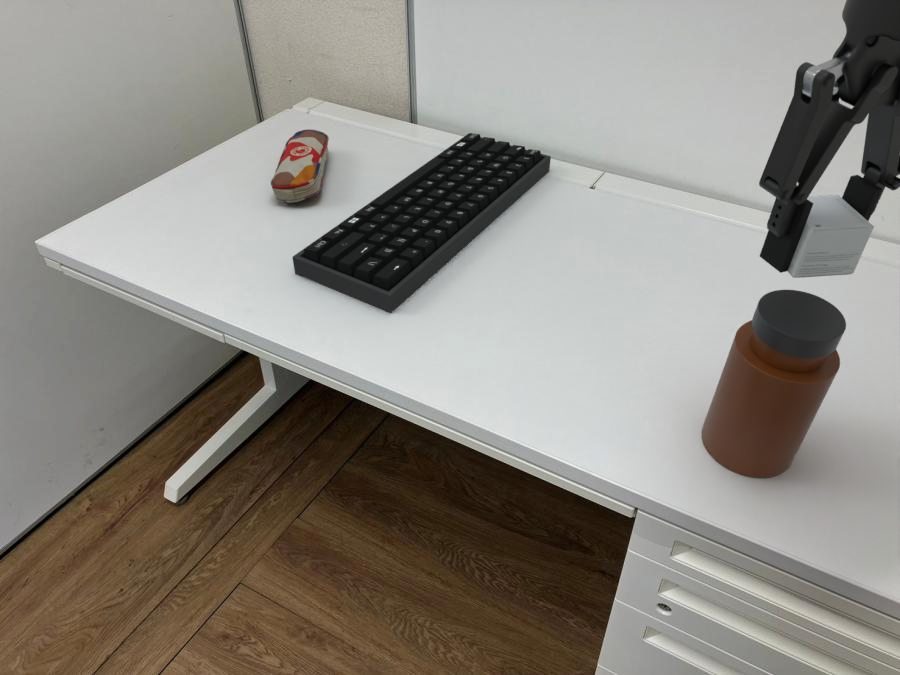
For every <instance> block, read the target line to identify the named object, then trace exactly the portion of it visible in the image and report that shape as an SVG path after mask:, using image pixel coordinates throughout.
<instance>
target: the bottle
mask: <svg viewBox="0 0 900 675" xmlns="http://www.w3.org/2000/svg"><path fill="white" fill-rule="evenodd" d="M846 321H847V320H846V318H845V317H844V315H843V313H842V312H841V311H840V310H839V309H838V308H837V307H836V306H835V305H834V304H833V303H831V302H830V301H828V300H826V299H825V298H822V297H820V296H818V295H816V294H813V293H810V292H806V291H802V290H796V289H777V290H772V291H769V292H767V293H766V294H764V295H762V296H761V297H760V298H759V300H758V303H757V306H756V308H755V311H754V312H753V315H752V319H751V320H749V321H747V322H745V323H743V324H742V325H741V326H740V327H739V328H737V331H736V332H735V335H734V338H733V340H732V343H731V346H730V349H729V352H728V355H727V357H726V360H725V363H724V366H723V369H722V372H721V375H720V377H719V380H718V382H717V386H716V389H715V390H714V393H713V394H714V395H713V397H712V400H711V402H710V405H709V408H708V412H707V414H706V417H705V419H704V422H703V425H702V428H701V441H702V444H703V446H704V448H705V449H706V451H707V452H708V454H709V455H710V457H712V459H713V460H715V462H717V463H718V464H719V465H721V466H722V467H724V468H726V469H727V470H729V471H732V472H733V473H735V474H739V475H740V476H741V475H742V476H745V477H748V478H755V479H757V478H758V479H766V478H767V479H768V478H773V477H776V476H779V475H782V474H783V473H785V472H786V471H787V470H788V469H789V468H790V466H791V465H792V464H793V461H794V459H795V457H796V455H797V454H798V452H799V449H800V448H801V445H802V443H803V442H804V439H805V438H806V435H807V433H808V431H809V430H810V427H811V426H812V424H813V421H814V420H815V418H816V415H817V413H818V412H819V409H820V407H821V406H822V404H823V402H824V400H825V398H826V396H827V394H828V391H829V390H830V388H831V386H832V384H833V382H834V380H835V378H836V376H837V374H838V373H839V370H840V367H841V358H840V354H839V352H838V350H837V348H838V346H839V344H840V342H841V339H842V338H843V335H844V334H845V331H846V330H847V322H846Z"/></svg>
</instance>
